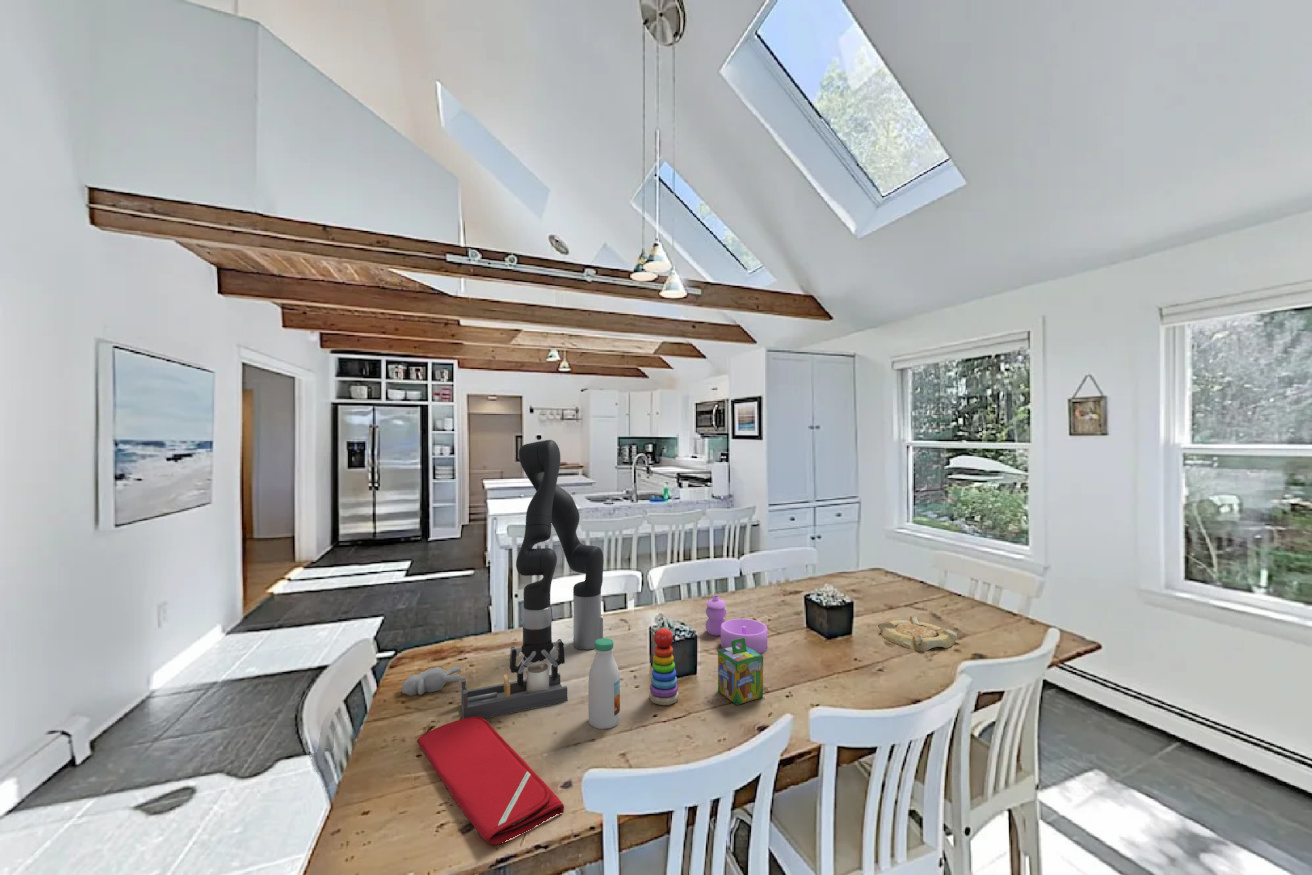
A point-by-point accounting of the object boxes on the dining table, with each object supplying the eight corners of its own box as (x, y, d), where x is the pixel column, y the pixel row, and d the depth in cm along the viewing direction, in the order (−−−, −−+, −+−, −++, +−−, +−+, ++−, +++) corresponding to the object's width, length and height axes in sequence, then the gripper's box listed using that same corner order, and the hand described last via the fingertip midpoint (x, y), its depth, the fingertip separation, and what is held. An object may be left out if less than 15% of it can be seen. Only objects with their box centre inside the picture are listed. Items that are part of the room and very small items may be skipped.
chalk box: (736, 706, 137) (736, 649, 137) (716, 691, 145) (716, 637, 145) (764, 697, 141) (764, 643, 141) (743, 683, 150) (743, 631, 149)
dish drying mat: (483, 721, 131) (483, 707, 131) (567, 814, 99) (566, 794, 99) (416, 746, 121) (416, 730, 121) (485, 857, 89) (485, 835, 89)
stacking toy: (685, 698, 141) (685, 629, 141) (664, 710, 135) (664, 637, 135) (663, 688, 147) (663, 621, 146) (643, 699, 141) (643, 629, 141)
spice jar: (546, 686, 146) (546, 659, 145) (551, 697, 140) (551, 668, 140) (524, 691, 143) (524, 663, 143) (528, 701, 138) (528, 672, 138)
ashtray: (971, 653, 170) (971, 637, 170) (897, 652, 170) (897, 637, 170) (934, 625, 194) (934, 612, 194) (868, 625, 194) (869, 612, 194)
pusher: (506, 692, 142) (506, 674, 142) (510, 704, 136) (510, 685, 135) (463, 701, 137) (463, 682, 137) (465, 713, 131) (465, 693, 131)
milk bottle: (607, 733, 125) (606, 650, 125) (582, 724, 129) (581, 643, 129) (626, 718, 131) (625, 638, 131) (601, 709, 136) (601, 632, 135)
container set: (777, 647, 174) (777, 608, 174) (744, 659, 165) (744, 617, 165) (724, 625, 194) (724, 589, 194) (692, 634, 185) (692, 597, 185)
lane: (559, 685, 149) (559, 660, 149) (567, 701, 140) (567, 674, 140) (461, 704, 139) (461, 677, 138) (463, 722, 130) (463, 694, 130)
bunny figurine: (403, 671, 149) (459, 657, 154) (405, 689, 149) (461, 674, 154) (399, 687, 140) (459, 671, 145) (402, 705, 140) (462, 689, 145)
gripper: (560, 614, 148) (560, 672, 148) (507, 622, 142) (508, 681, 142) (566, 623, 141) (567, 683, 141) (511, 631, 135) (512, 694, 135)
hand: (537, 682), depth 142 cm, fingers open, 8 cm apart
